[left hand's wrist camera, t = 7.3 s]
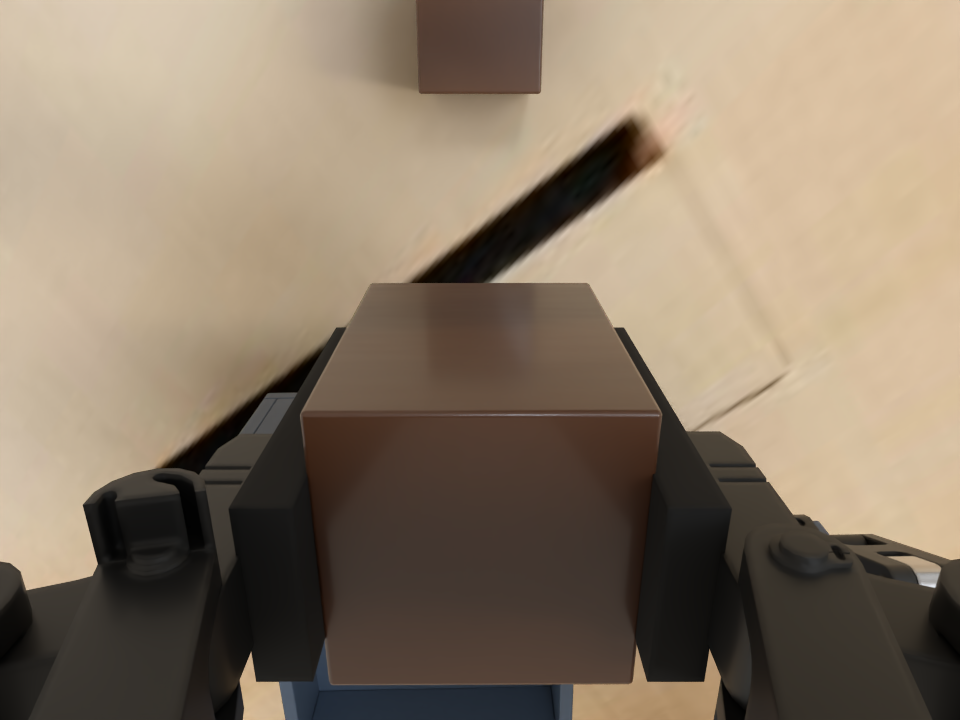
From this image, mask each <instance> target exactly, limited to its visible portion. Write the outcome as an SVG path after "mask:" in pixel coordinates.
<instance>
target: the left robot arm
mask: <svg viewBox="0 0 960 720" xmlns="http://www.w3.org/2000/svg"><path fill="white" fill-rule="evenodd" d="M614 329H615V331H616V333H617V335H618V336H619V338H620V340H621V342H622V343H623V345H624V347H625V349H626V350H627V352H628V354H629V356H630V357H631V359H632V361H633V363H634V364H635V366H636V368H637V370H638V372H639V373H640V375H641V377H642V379H643V380H644V382H645V384H646V386H647V387H648V389H649V391H650V393H651V394H652V396H653V398H654V400H655V401H656V403H657V405H658V407H659V409H660V410H661V413H662V421H661V430H660V439H659V448H658V457H657V466H656V473H655V474H653V479H652V488H651V497H650V507H649V516H648V525H647V534H646V543H645V552H644V561H643V571H642V580H641V589H640V598H639V607H638V616H637V625H636V635H635V640H636V643H637V647H638V650H639V654H640V657H641V661H642V664H643V668H644V672H645V675H646V679H647V682H704V679H705V673H706V667H707V661H708V654H709V648H710V651H711V653H712V656H713V658H714V661H715V663H716V666H717V668H718V670H719V673H720V675H721V681H720V687H719V693H718V698H717V704H716V710H715V715H714V720H960V559H957V560H951V561H950V562H949V563H947V564H946V565H945V566H944V567H942V568H941V571H940V574H939V577H938V580H937V583H936V587H935V588H934V587H929V586H924V585H919V584H914V583H909V582H904V581H899V580H894V579H889V578H885V577H881V576H877V575H873V574H870V573H866V571H865V569H864V566H863V564H862V563H861V561H860V560H859V559H858V557H857V556H856V555H855V553H854V552H853V551H852V549H850V548H849V547H847V546H846V545H844V544H843V543H842V542H840V541H839V540H837V539H836V538H835V537H832V536H830V535H828V534H825V533H823V532H821V531H818V530H816V529H814V528H809V527H805V526H801V525H800V524H799V523H798V521H797V520H796V518H795V517H794V516H793V514H792V513H791V512H790V510H789V509H788V508H787V506H786V505H785V503H784V502H783V501H782V499H781V498H780V497H779V495H778V494H777V492H776V491H775V490H774V488H773V487H772V486H771V484H770V483H769V482H766V477H765V476H764V475H763V473H762V472H761V471H760V469H759V468H758V467H756V464H755V462H754V461H753V460H752V458H751V457H750V456H749V454H748V453H747V451H746V450H745V449H744V447H743V446H741V445H740V444H738V443H737V442H735V441H734V440H732V439H730V438H729V437H727V436H726V435H724V434H723V433H721V432H686V431H685V429H684V427H683V426H682V424H681V422H680V421H679V419H678V417H677V416H676V414H675V412H674V411H673V409H672V407H671V406H670V404H669V402H668V401H667V399H666V397H665V396H664V394H663V392H662V391H661V389H660V387H659V386H658V384H657V382H656V381H655V379H654V377H653V376H652V374H651V372H650V371H649V369H648V367H647V366H646V364H645V362H644V361H643V359H642V357H641V355H640V354H639V352H638V350H637V349H636V347H635V345H634V344H633V342H632V340H631V339H630V337H629V335H628V334H627V332H626V330H625V329H624V328H614ZM345 330H346V328H336V329H335V331H334V333H333V334H332V336H331V338H330V339H329V341H328V343H327V344H326V346H325V348H324V349H323V351H322V353H321V354H320V356H319V358H318V359H317V361H316V363H315V364H314V366H313V368H312V369H311V371H310V373H309V374H308V376H307V378H306V379H305V381H304V383H303V384H302V386H301V388H300V389H299V391H298V393H297V394H296V396H295V398H294V400H293V401H292V403H291V405H290V406H289V408H288V410H287V411H286V413H285V415H284V416H283V418H282V420H281V421H280V423H279V425H278V426H277V428H276V430H275V431H274V433H273V434H240V435H238V436H237V437H235V438H234V439H232V440H231V441H229V442H227V443H226V444H224V445H223V446H221V447H220V448H218V449H217V451H216V452H215V453H214V455H213V456H212V458H211V459H210V460H209V462H208V463H207V464H206V466H205V470H202V471H201V473H200V474H199V475H198V474H196V473H195V472H192V471H187V470H183V469H179V468H166V469H153V470H148V471H142V472H137V473H133V474H130V475H128V476H125V477H122V478H120V479H117V480H114V481H112V482H110V483H109V484H107V485H105V486H104V487H102V488H100V489H99V490H97V491H95V492H94V493H93V494H92V495H91V496H90V497H89V499H88V500H87V501H86V502H85V503H84V504H83V508H84V511H85V515H86V519H87V523H88V527H89V531H90V535H91V539H92V543H93V547H94V551H95V555H96V558H97V562H98V565H97V568H96V570H95V572H94V574H93V576H91V577H87V578H83V579H80V580H75V581H71V582H66V583H61V584H56V585H51V586H46V587H41V588H36V589H31V590H26V588H25V585H24V582H23V579H22V575H21V572H20V571H19V570H18V569H17V568H15V567H14V566H13V565H12V564H10V563H5V562H0V720H243V712H244V706H243V699H242V693H241V687H240V681H239V680H240V677H241V675H242V672H243V670H244V668H245V665H246V663H247V660H248V658H249V655H250V653H251V652H252V658H253V664H254V670H255V677H256V682H313V680H314V676H315V673H316V669H317V666H318V662H319V659H320V655H321V652H322V648H323V644H324V641H325V633H324V623H323V614H322V605H321V596H320V587H319V578H318V568H317V559H316V550H315V541H314V532H313V523H312V514H311V504H310V495H309V486H308V477H307V473H306V466H305V457H304V448H303V438H302V429H301V420H300V414H301V411H302V409H303V408H304V406H305V404H306V402H307V400H308V398H309V397H310V395H311V393H312V391H313V389H314V387H315V385H316V384H317V382H318V380H319V378H320V376H321V374H322V373H323V371H324V369H325V367H326V365H327V363H328V361H329V360H330V358H331V356H332V354H333V352H334V350H335V349H336V347H337V345H338V343H339V341H340V339H341V337H342V336H343V334H344V332H345Z"/></svg>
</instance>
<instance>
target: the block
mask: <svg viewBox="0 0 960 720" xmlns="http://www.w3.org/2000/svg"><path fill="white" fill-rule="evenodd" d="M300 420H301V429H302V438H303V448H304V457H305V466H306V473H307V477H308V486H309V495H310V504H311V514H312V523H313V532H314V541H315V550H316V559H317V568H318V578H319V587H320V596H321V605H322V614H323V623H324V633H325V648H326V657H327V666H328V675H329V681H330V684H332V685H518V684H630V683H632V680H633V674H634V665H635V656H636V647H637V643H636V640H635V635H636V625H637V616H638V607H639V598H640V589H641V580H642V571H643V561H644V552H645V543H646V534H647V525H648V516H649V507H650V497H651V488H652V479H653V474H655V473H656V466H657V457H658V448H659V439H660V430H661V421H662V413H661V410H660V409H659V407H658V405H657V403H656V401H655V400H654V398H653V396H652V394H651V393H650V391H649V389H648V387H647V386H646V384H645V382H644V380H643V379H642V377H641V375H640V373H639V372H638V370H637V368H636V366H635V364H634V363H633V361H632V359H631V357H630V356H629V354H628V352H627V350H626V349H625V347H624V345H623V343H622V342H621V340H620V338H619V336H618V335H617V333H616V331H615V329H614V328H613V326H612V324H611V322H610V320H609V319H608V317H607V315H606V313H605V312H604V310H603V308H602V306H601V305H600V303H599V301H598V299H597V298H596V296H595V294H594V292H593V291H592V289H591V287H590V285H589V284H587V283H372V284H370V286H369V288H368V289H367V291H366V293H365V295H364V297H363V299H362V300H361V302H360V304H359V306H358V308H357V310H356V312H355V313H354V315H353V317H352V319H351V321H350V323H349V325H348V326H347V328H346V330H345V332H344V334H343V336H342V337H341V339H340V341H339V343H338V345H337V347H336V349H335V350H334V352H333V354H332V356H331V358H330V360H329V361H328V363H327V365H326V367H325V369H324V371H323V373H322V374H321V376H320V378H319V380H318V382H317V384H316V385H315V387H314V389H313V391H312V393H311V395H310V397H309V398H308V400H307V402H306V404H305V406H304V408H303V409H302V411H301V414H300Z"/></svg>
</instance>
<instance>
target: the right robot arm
mask: <svg viewBox="0 0 960 720" xmlns="http://www.w3.org/2000/svg"><path fill="white" fill-rule="evenodd" d="M793 516H794V517H795V518H796V520H797V521H798V523H799V524H800V525H801V526H805V527H809V528H814V529H816V530H818V531H819V529H818V527H817V526H815V524H814V522H813V521H812V520H811V519H810V517H808V516H806V515H793ZM830 536H832V537H835V538H836V539H837V540H839V541H840V542H842V543H843V544H844V545H846V546H847V547H849V548H850V549H852V551H853V552H854V553H855V555H856V556H857V557H858V559H859V560H860V561H861V563H862V564H863V566H864V569H865V571H866V573H870V574H873V575H877V576H881V577H885V578H889V579H894V580H899V581H904V582H909V583H914V584H919V585H924V586H929V587H934V588H935V587H936V583H937V580H938V577H939V574H940V571H941V568H942V567H944V566H945V565H946V564H947V563H949V562H950V561H951V560H948V559H945V558H942V557H939V556H936V555H933V554H930V553H927V552H924V551H921V550H918V549H915V548H912V547H909V546H906V545H903V544H900V543H897V542H894V541H891V540H888V539H885V538H882V537H879V536H876V535H873V534H855V535H830Z"/></svg>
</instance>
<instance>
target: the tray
mask: <svg viewBox="0 0 960 720" xmlns="http://www.w3.org/2000/svg"><path fill="white" fill-rule="evenodd" d="M296 394H297V393H268V394H267V395H266V397H265V398H264V400H263V401H262V402H261V404H260V405H259V407H258V408H257V409H256V411H255V412H254V414H253V415H252V417H251V418H250V419H249V421H248V422H247V424H246V425H245V426H244V428H243V429H242V431H241V432H240V434H273V433H274V431H275V430H276V428H277V426H278V425H279V423H280V421H281V420H282V418H283V416H284V415H285V413H286V411H287V410H288V408H289V406H290V405H291V403H292V401H293V400H294V398H295V396H296ZM240 434H239V435H240ZM813 522H814V524H815V526H817V527H818V529H819V531H821V532H823V533H825V534H828V532H827V531H826V530H825V529H824V527H823V526H822V525H821V524H820V522H819V521H813ZM828 535H829V534H828ZM279 685H280V690H281V696H282V702H283V708H284V714H285V720H572V706H573V684H518V685H332V684H330V681H329V675H328V666H327V657H326V648H325V641H324V644H323V648H322V652H321V655H320V659H319V662H318V666H317V669H316V673H315V676H314V680H313V682H279Z"/></svg>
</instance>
